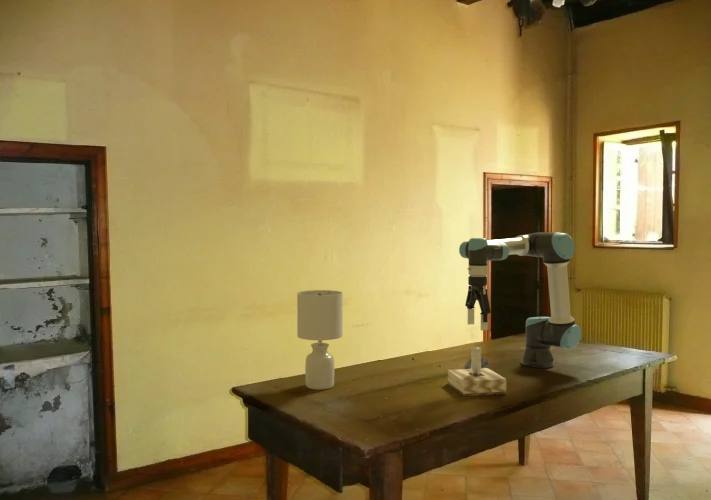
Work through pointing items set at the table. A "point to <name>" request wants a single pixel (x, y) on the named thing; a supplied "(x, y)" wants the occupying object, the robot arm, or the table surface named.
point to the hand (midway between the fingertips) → (477, 327)
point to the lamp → (319, 333)
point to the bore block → (476, 382)
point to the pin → (475, 361)
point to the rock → (483, 363)
